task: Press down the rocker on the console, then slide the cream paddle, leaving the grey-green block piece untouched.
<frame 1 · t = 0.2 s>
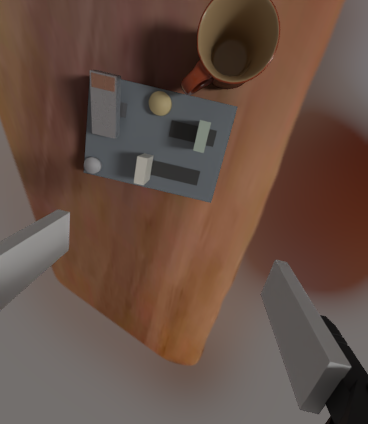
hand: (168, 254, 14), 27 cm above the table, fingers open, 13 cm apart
console: (158, 141, 39), on the table
rocker: (105, 106, 32), point 6 cm above the table, hinge at 14.0°
grey-green block piece: (202, 136, 33), point 6 cm above the table, slide at 0.0 cm
cream paddle: (143, 168, 35), point 5 cm above the table, slide at 0.0 cm
mug: (219, 71, 35), on the table
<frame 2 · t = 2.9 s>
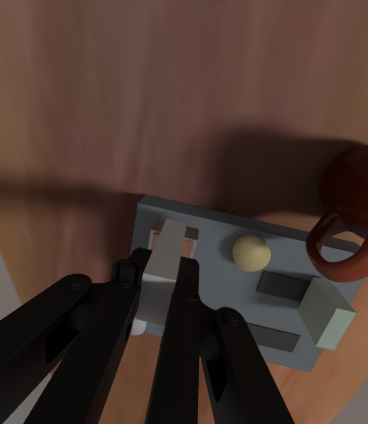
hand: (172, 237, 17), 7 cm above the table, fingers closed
console: (229, 278, 26), on the table
rocker: (167, 269, 19), point 6 cm above the table, hinge at 8.7°, touching gripper
grey-green block piece: (323, 311, 20), point 5 cm above the table, slide at 0.0 cm
mug: (337, 192, 22), on the table
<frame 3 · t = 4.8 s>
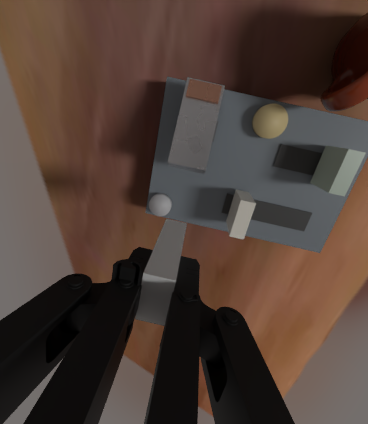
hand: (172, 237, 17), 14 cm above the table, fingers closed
console: (246, 169, 28), on the table
rocker: (196, 126, 21), point 6 cm above the table, hinge at -23.0°
grey-green block piece: (334, 169, 22), point 5 cm above the table, slide at 0.0 cm
cream paddle: (239, 213, 25), point 5 cm above the table, slide at 0.0 cm
mug: (348, 72, 24), on the table
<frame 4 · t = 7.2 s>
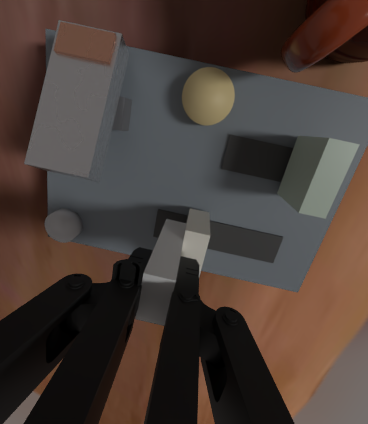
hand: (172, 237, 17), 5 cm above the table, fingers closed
console: (192, 172, 20), on the table
rocker: (79, 104, 13), point 6 cm above the table, hinge at -22.0°
grey-green block piece: (310, 173, 14), point 6 cm above the table, slide at 0.0 cm
cream paddle: (192, 245, 16), point 6 cm above the table, slide at 1.7 cm, touching gripper
mug: (332, 25, 16), on the table
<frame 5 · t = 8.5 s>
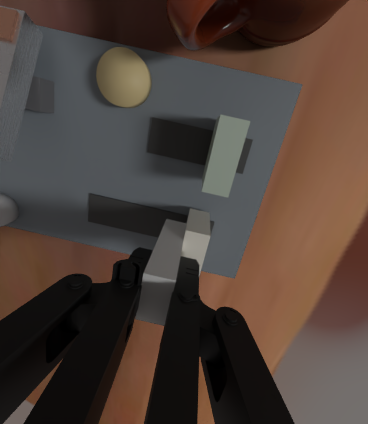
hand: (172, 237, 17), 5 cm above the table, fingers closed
console: (131, 158, 20), on the table
grey-green block piece: (221, 154, 14), point 6 cm above the table, slide at 0.0 cm
cream paddle: (192, 246, 16), point 6 cm above the table, slide at 7.1 cm, touching gripper
mug: (255, 9, 16), on the table
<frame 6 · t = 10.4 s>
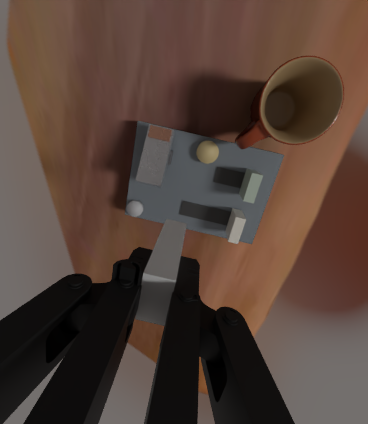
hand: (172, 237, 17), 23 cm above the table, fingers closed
console: (199, 182, 39), on the table
rocker: (155, 156, 32), point 6 cm above the table, hinge at -22.0°
grey-green block piece: (250, 185, 33), point 6 cm above the table, slide at 0.0 cm
cream paddle: (235, 225, 35), point 6 cm above the table, slide at 7.2 cm
mug: (263, 118, 35), on the table
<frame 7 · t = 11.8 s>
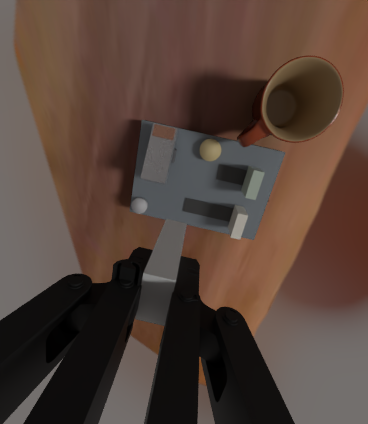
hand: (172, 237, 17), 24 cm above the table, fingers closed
console: (201, 180, 40), on the table
rocker: (159, 154, 33), point 6 cm above the table, hinge at -22.0°
grey-green block piece: (251, 182, 34), point 5 cm above the table, slide at 0.0 cm
cream paddle: (237, 221, 36), point 5 cm above the table, slide at 7.2 cm
mug: (265, 116, 36), on the table
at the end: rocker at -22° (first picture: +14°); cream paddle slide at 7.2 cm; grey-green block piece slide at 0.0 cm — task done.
